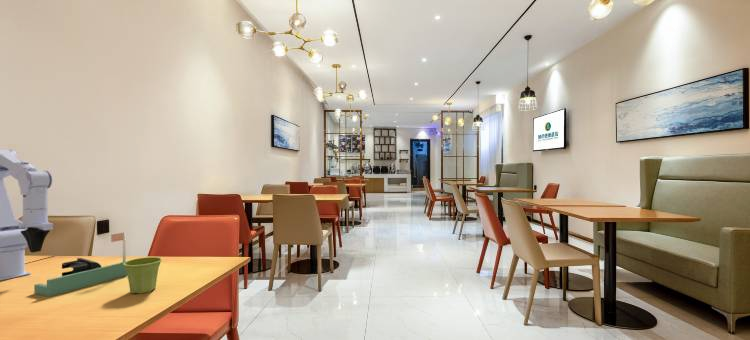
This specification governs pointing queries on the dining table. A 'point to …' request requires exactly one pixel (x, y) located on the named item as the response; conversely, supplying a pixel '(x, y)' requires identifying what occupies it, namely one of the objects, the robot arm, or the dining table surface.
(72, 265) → the black plastic holder
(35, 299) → the dining table surface
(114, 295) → the dining table surface
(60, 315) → the dining table surface
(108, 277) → the putting pocket
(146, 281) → the plant pot
